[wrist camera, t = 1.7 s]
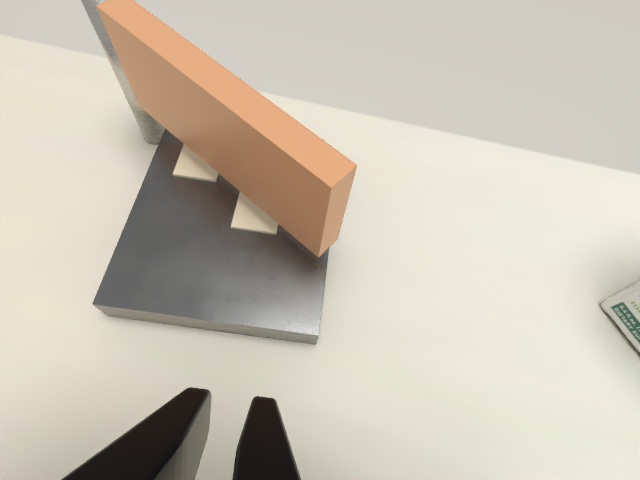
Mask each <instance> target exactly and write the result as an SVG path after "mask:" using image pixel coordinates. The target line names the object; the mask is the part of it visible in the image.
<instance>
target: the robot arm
mask: <svg viewBox="0 0 640 480" xmlns="http://www.w3.org/2000/svg"><path fill="white" fill-rule="evenodd" d="M210 408H211V392H210V391H209V390H206V389H199V388H187V389H185V390H184V391H183V392H181V393H180V394H178V395H177V396H176V397H174V398H173V399H172V400H170V401H169V402H167V403H166V404H165V405H163V406H162V407H161V408H159V409H158V410H156V411H155V412H154V413H152V414H151V415H150V416H148V417H147V418H145V419H144V420H143V421H141V422H140V423H138V424H137V425H136V426H134V427H133V428H132V429H130V430H129V431H127V432H126V433H125V434H123V435H122V436H121V437H119V438H118V439H116V440H115V441H114V442H112V443H111V444H109V445H108V446H107V447H105V448H104V449H103V450H101V451H100V452H98V453H97V454H96V455H94V456H93V457H92V458H90V459H89V460H87V461H86V462H85V463H83V464H82V465H81V466H79V467H78V468H76V469H75V470H74V471H72V472H71V473H69V474H68V475H67V476H65V477H64V478H63V479H61V480H195V476H196V473H197V470H198V467H199V463H200V460H201V457H202V453H203V450H204V447H205V443H206V440H207V436H208V431H209V422H210ZM233 480H301V478H300V475H299V471H298V468H297V465H296V462H295V459H294V456H293V452H292V449H291V446H290V443H289V440H288V437H287V433H286V430H285V427H284V424H283V421H282V418H281V414H280V411H279V408H278V405H277V402H276V400H275V399H273V398H266V397H259V396H256V397H254V398H253V400H252V402H251V406H250V409H249V412H248V415H247V418H246V421H245V424H244V427H243V430H242V433H241V436H240V439H239V443H238V446H237V451H236V457H235V464H234V472H233Z"/></svg>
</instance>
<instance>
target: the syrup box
mask: <svg viewBox="0 0 640 480" xmlns="http://www.w3.org/2000/svg"><path fill="white" fill-rule="evenodd" d="M600 306H601V308H602V309H603V310H604V311H605V312H606V313H607V314H609V315H610V316H611V318H612V319H613V320H614V321H615V323H616V324H617V325H618V326H619V328H620V329H621V330H622V332H623V333H624V334H625V335H626V337H627V338H628V339H629V340H630V342H631V343H632V344H633V345H634V346H635V348H636V349H637V350H638V351H639V352H640V280H639V281H638V282H636V283H634V284H632V285H631V286H629V287H627V288H626V289H624V290H622V291H620V292H619V293H617V294H615V295H613V296H612V297H610V298H608V299H607V300H605V301H603V302H602V304H601V305H600Z"/></svg>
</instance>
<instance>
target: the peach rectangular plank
mask: <svg viewBox="0 0 640 480" xmlns="http://www.w3.org/2000/svg"><path fill="white" fill-rule="evenodd" d="M96 7H97V10H98V12H99V14H100V17H101V19H102V21H103V24H104V26H105V28H106V31H107V33H108V35H109V37H110V40H111V42H112V44H113V47H114V49H115V51H116V54H117V56H118V58H119V61H120V63H121V65H122V68H123V70H124V72H125V75H126V77H127V79H128V82H129V84H130V86H131V89H132V91H133V93H134V95H135V98H136V100H137V102H138V105H139V106H140V107H141V108H142V109H143V110H144V111H146V112H147V113H148V114H149V115H150V116H152V117H153V118H154V119H155V120H156V121H157V122H159V123H160V124H161V125H162V126H163V127H165V128H166V129H167V130H168V131H169V132H170V133H172V134H173V135H174V136H175V137H176V138H178V139H179V140H180V141H181V142H182V143H184V144H185V145H186V146H187V147H188V148H189V149H191V150H192V151H193V152H194V153H195V154H197V155H198V156H199V157H200V158H201V159H202V160H204V161H205V162H206V163H207V164H208V165H210V166H211V167H212V168H213V169H214V170H215V171H217V172H218V173H219V174H220V175H221V176H223V177H224V178H225V179H226V180H227V181H228V182H230V183H231V184H232V185H233V186H234V187H236V188H237V189H238V190H239V191H240V192H241V193H243V194H244V195H245V196H246V197H247V198H249V199H250V200H251V201H252V202H253V203H254V204H256V205H257V206H258V207H259V208H260V209H262V210H263V211H264V212H265V213H266V214H268V215H269V216H270V217H271V218H272V219H273V220H275V221H276V222H277V223H278V224H279V225H281V226H282V227H283V228H284V229H285V230H286V231H288V232H289V233H290V234H291V235H292V236H294V237H295V238H296V239H297V240H298V241H299V242H301V243H302V244H303V245H304V246H305V247H307V248H308V249H309V250H310V251H311V252H312V253H314V254H315V255H316V256H317V257H318V258H319V257H320V256H321V255H322V254H323V253H324V252H325V251H326V250H327V249H328V248H329V247H330V246H331V245H332V244H333V243H334V242H335V241H336V240H337V239H338V235H339V232H340V228H341V224H342V220H343V217H344V213H345V209H346V205H347V201H348V198H349V194H350V190H351V186H352V182H353V179H354V175H355V171H356V167H357V165H356V164H355V163H354V162H352V161H351V160H350V159H348V158H347V157H345V156H344V155H343V154H341V153H340V152H339V151H337V150H336V149H335V148H333V147H332V146H331V145H329V144H328V143H326V142H325V141H324V140H322V139H321V138H320V137H318V136H317V135H316V134H314V133H313V132H312V131H310V130H309V129H307V128H306V127H305V126H303V125H302V124H301V123H299V122H298V121H297V120H295V119H294V118H293V117H291V116H290V115H288V114H287V113H286V112H284V111H283V110H282V109H280V108H279V107H278V106H276V105H275V104H274V103H272V102H271V101H269V100H268V99H267V98H265V97H264V96H263V95H261V94H260V93H259V92H257V91H256V90H255V89H253V88H252V87H250V86H249V85H248V84H246V83H245V82H244V81H242V80H241V79H240V78H238V77H237V76H235V75H234V74H233V73H231V72H230V71H229V70H227V69H226V68H225V67H223V66H222V65H221V64H219V63H218V62H216V61H215V60H214V59H212V58H211V57H209V56H208V55H207V54H206V53H204V52H203V51H201V50H200V49H199V48H197V47H196V46H194V45H193V44H192V43H191V42H189V41H188V40H187V39H185V38H184V37H183V36H181V35H180V34H178V33H177V32H175V31H174V30H173V29H172V28H170V27H169V26H168V25H166V24H165V23H163V22H162V21H161V20H160V19H158V18H157V17H155V16H154V15H153V14H151V13H150V12H149V11H147V10H146V9H145V8H143V7H142V6H140V5H139V4H138V3H136V2H135V1H134V0H107V1H105V2H102V3H100V4H98V5H96Z"/></svg>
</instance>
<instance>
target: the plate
mask: <svg viewBox="0 0 640 480" xmlns="http://www.w3.org/2000/svg"><path fill="white" fill-rule="evenodd" d="M81 1H82V3H83V5H84V7H85V9H86V12H87V13H88V16H89V18H90V20H91V22H92V24H93V27H94V29H95V31H96V33H97V35H98V38H99V40H100V42H101V44H102V46H103V49H104V51H105V53H106V55H107V57H108V60H109V62H110V64H111V66H112V68H113V70H114V73H115V75H116V77H117V79H118V81H119V84H120V86H121V88H122V90H123V92H124V94H125V97H126V99H127V101H128V103H129V105H130V108H131V110H132V112H133V114H134V116H135V118H136V121H137V123H138V125H139V127H140V129H141V132H142V134H143V136H144V138H145V140H146V141H147V142H148V143H151V144H159V145H158V147H157V150H156V152H155V155H154V157H153V159H152V162H151V164H150V167H149V169H148V171H147V174H146V176H145V179H144V181H143V183H142V186H141V188H140V191H139V193H138V195H137V198H136V200H135V203H134V205H133V207H132V210H131V212H130V215H129V217H128V219H127V222H126V224H125V227H124V229H123V231H122V234H121V236H120V239H119V241H118V244H117V246H116V248H115V251H114V253H113V256H112V258H111V260H110V263H109V265H108V268H107V270H106V272H105V275H104V277H103V280H102V282H101V284H100V287H99V289H98V292H97V294H96V296H95V299H94V301H93V305H94V306H95V307H97V308H98V309H100V310H101V311H102V312H104V313H105V314H107V315H108V316H114V317H121V318H128V319H135V320H143V321H150V322H157V323H165V324H172V325H179V326H186V327H194V328H201V329H208V330H216V331H223V332H230V333H237V334H245V335H252V336H259V337H267V338H274V339H281V340H288V341H296V342H303V343H310V344H316V342H317V339H318V336H319V328H320V320H321V311H322V303H323V294H324V286H325V277H326V269H327V260H328V252H329V248H328V249H327V250H326V251H325V252H324V253H323V254H322V255H321V256H320V257H319V258H318V257H317V256H316V255H315V254H314V253H312V252H311V251H310V250H309V249H308V248H307V247H305V246H304V245H303V244H302V243H301V242H299V241H298V240H297V239H296V238H295V237H294V236H292V235H291V234H290V233H289V232H288V231H286V230H285V229H284V228H283V227H282V226H281V225H279V224H278V223H277V222H276V221H275V220H273V219H272V218H271V217H270V216H269V215H268V214H266V213H265V212H264V211H263V210H262V209H260V208H259V207H258V206H257V205H256V204H254V203H253V202H252V201H251V200H250V199H249V198H247V197H246V196H245V195H244V194H243V193H241V192H240V191H239V190H238V189H237V188H236V187H234V186H233V185H232V184H231V183H230V182H228V181H227V180H226V179H225V178H224V177H223V176H221V175H220V174H219V173H218V172H217V171H215V170H214V169H213V168H212V167H211V166H210V165H208V164H207V163H206V162H205V161H204V160H202V159H201V158H200V157H199V156H198V155H197V154H195V153H194V152H193V151H192V150H191V149H189V148H188V147H187V146H186V145H185V144H184V143H182V142H181V141H180V140H179V139H178V138H176V137H175V136H174V135H173V134H172V133H170V132H169V131H168V130H167V129H166V128H165V127H163V126H162V125H161V124H160V123H159V122H157V121H156V120H155V119H154V118H153V117H152V116H150V115H149V114H148V113H147V112H146V111H144V110H143V109H142V108H141V107H140V106H139V105H138V102H137V100H136V98H135V95H134V93H133V91H132V89H131V86H130V84H129V82H128V79H127V77H126V75H125V72H124V70H123V68H122V65H121V63H120V61H119V58H118V56H117V54H116V51H115V49H114V47H113V44H112V42H111V40H110V37H109V35H108V33H107V31H106V28H105V26H104V24H103V21H102V19H101V17H100V14H99V12H98V10H97V7H96V5H98V4H100V3H102V2H105V1H107V0H81Z"/></svg>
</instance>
